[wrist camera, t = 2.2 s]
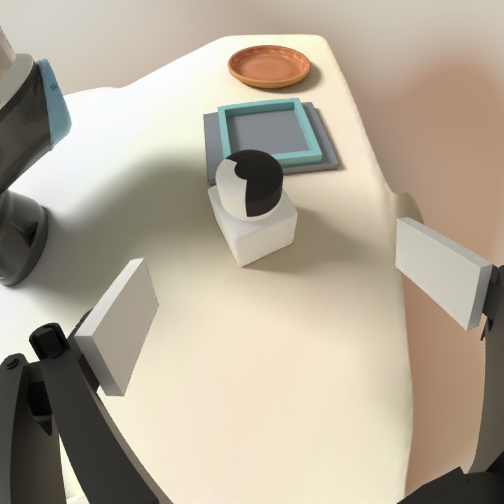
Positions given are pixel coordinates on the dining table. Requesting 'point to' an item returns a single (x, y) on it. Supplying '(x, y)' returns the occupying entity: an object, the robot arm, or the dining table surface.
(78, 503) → the white cup
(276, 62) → the saucer
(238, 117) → the dock
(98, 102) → the dining table surface
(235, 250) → the medicine bottle
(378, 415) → the dining table surface
